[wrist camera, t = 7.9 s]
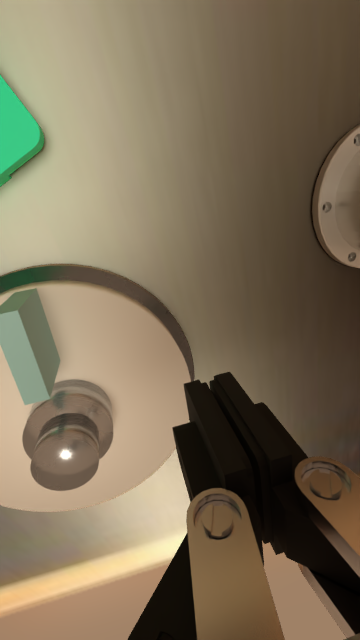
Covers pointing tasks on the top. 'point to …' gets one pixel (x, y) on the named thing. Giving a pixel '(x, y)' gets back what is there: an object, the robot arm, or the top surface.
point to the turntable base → (103, 279)
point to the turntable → (96, 367)
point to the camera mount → (16, 133)
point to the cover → (68, 434)
